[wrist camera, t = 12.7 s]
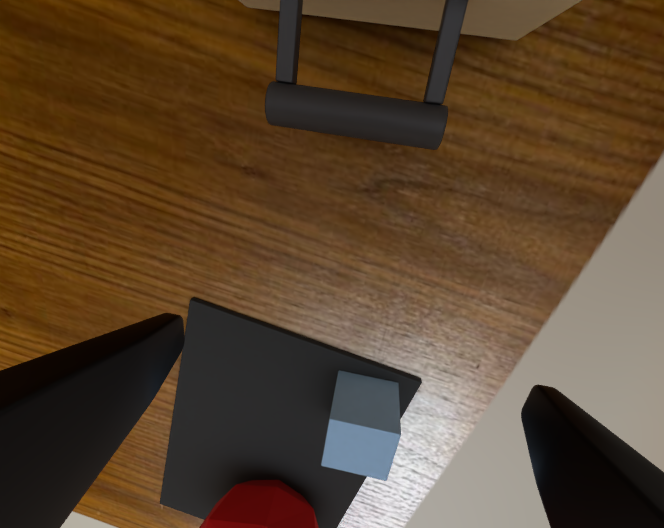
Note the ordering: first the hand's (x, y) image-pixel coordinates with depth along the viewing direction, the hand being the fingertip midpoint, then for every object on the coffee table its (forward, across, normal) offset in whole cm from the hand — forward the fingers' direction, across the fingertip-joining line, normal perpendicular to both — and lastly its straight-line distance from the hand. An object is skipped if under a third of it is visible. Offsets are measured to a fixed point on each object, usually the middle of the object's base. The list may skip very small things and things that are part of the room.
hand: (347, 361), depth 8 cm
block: (+10, -2, +12) cm, 16 cm away
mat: (+11, +5, +20) cm, 23 cm away
